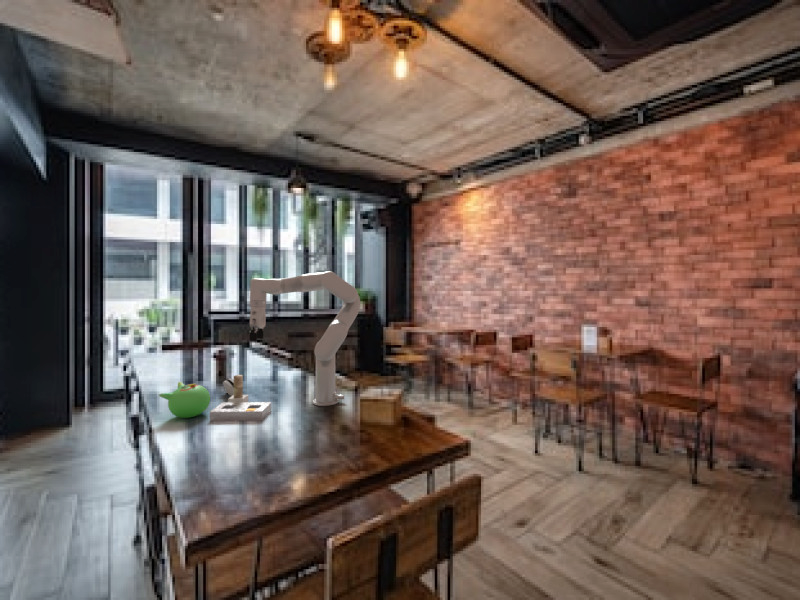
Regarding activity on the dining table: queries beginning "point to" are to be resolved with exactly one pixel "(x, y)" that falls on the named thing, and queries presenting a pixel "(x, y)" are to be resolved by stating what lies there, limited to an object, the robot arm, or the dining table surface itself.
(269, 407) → the plate
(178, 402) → the toy bird
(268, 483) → the dining table surface
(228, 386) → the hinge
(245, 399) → the beige square block
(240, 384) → the peg
